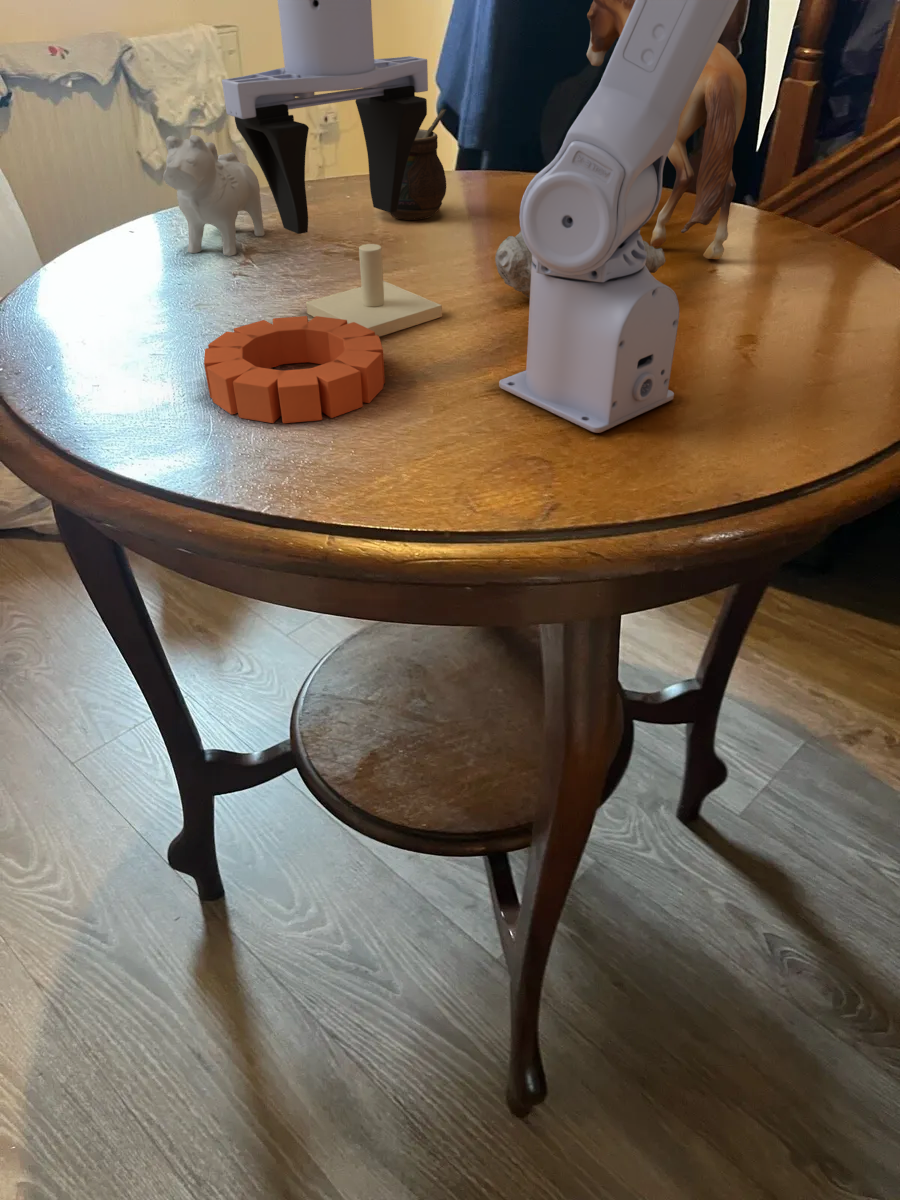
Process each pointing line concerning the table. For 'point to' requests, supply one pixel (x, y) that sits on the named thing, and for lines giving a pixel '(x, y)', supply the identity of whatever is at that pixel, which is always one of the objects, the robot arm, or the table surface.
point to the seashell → (518, 260)
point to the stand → (376, 300)
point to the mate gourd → (422, 178)
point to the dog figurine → (211, 190)
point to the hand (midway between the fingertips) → (341, 219)
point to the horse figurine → (691, 126)
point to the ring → (295, 394)
